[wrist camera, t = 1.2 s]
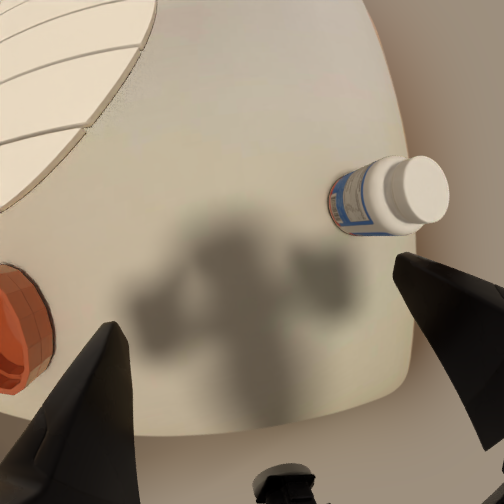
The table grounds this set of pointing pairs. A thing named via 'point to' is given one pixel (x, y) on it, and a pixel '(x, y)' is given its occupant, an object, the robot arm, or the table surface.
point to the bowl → (22, 332)
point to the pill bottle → (390, 197)
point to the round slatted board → (59, 78)
